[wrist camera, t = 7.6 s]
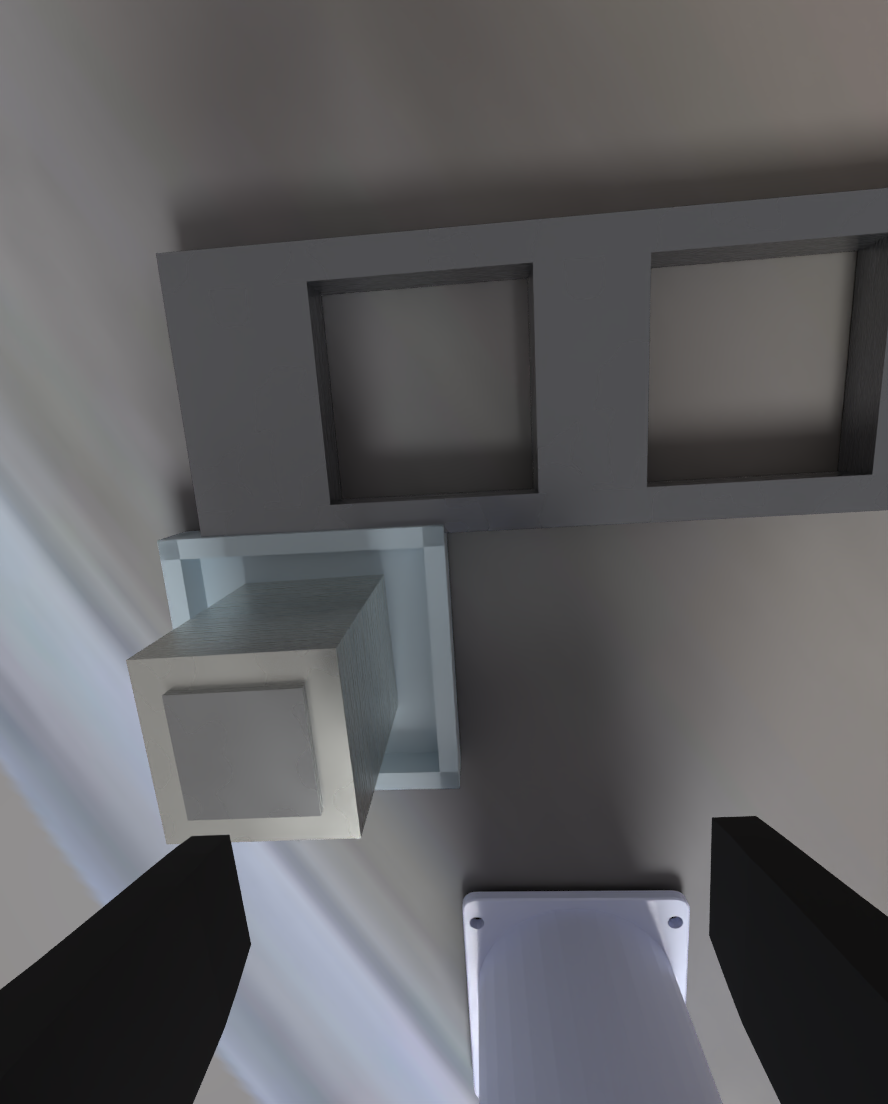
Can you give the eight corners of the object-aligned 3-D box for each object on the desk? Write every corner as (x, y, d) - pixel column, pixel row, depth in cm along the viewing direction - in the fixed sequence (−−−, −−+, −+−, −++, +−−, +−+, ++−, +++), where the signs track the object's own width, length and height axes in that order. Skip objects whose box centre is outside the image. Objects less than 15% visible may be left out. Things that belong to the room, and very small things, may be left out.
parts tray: (460, 758, 19) (459, 788, 17) (224, 764, 19) (202, 793, 18) (445, 517, 17) (442, 525, 15) (185, 531, 17) (157, 540, 16)
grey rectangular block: (397, 705, 18) (359, 845, 12) (266, 711, 18) (161, 850, 12) (383, 574, 17) (333, 652, 11) (245, 583, 17) (120, 664, 11)
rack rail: (1084, 491, 16) (1143, 496, 14) (224, 536, 17) (202, 545, 16) (1142, 185, 14) (1215, 157, 13) (183, 269, 16) (156, 253, 14)
